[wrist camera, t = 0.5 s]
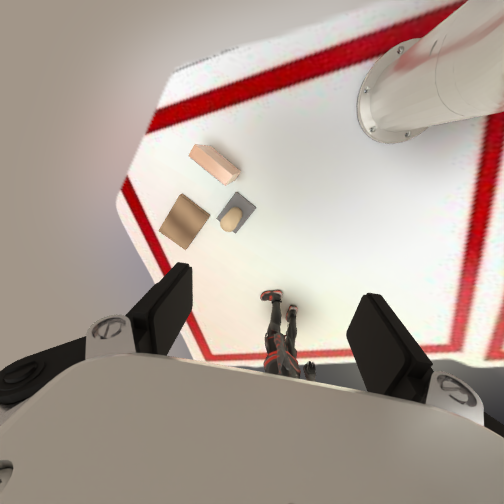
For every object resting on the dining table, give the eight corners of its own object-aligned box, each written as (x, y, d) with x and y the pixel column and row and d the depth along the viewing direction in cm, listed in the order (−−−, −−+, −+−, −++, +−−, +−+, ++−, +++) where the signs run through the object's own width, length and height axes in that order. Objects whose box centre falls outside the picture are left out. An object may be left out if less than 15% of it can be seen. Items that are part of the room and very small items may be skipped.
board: (182, 193, 42) (179, 194, 41) (210, 215, 43) (208, 216, 42) (161, 229, 46) (158, 230, 45) (187, 247, 47) (185, 249, 46)
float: (236, 191, 40) (227, 199, 33) (256, 207, 41) (251, 218, 34) (217, 217, 43) (205, 229, 36) (236, 232, 44) (228, 246, 37)
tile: (210, 146, 37) (194, 144, 30) (241, 171, 39) (232, 175, 31) (204, 156, 38) (187, 156, 31) (234, 180, 39) (224, 186, 32)
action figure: (259, 287, 50) (237, 446, 23) (307, 286, 48) (343, 456, 21) (263, 320, 54) (248, 485, 27) (307, 320, 52) (337, 496, 25)
